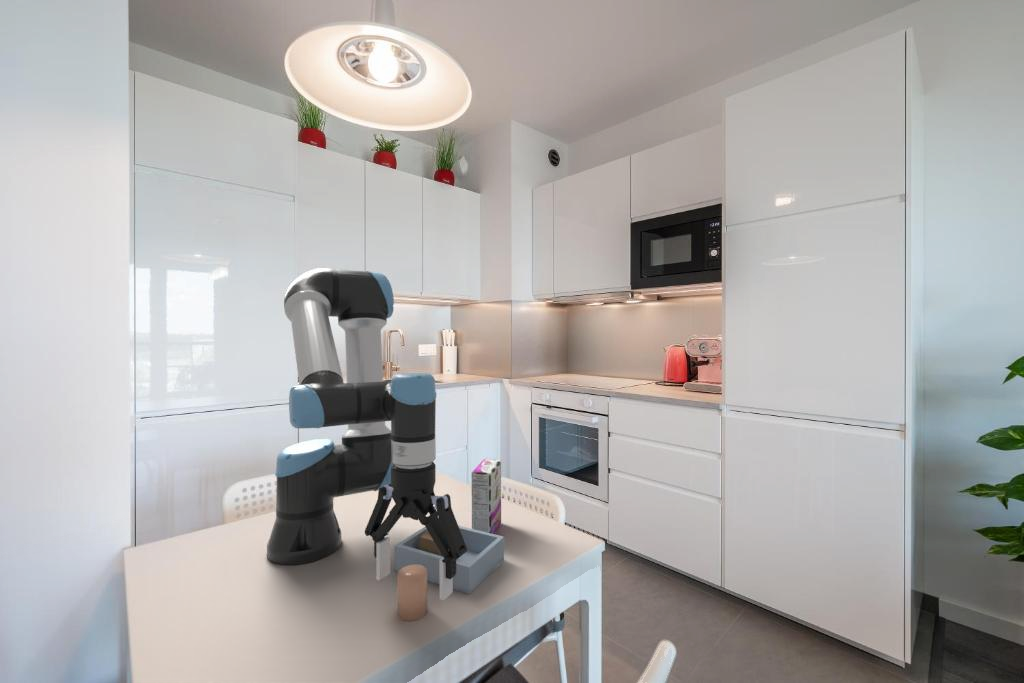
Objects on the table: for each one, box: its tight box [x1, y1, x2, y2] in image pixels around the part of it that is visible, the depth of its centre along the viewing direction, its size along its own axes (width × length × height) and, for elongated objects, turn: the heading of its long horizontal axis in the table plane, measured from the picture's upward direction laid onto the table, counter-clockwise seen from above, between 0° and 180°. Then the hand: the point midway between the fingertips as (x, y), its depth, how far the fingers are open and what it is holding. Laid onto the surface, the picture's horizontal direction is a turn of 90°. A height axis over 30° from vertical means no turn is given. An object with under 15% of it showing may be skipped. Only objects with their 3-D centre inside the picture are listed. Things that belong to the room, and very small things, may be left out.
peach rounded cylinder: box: [397, 565, 428, 622], centre depth 76 cm, size 5×5×7 cm
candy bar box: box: [471, 458, 502, 535], centre depth 108 cm, size 11×5×16 cm, turn 168°
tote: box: [393, 525, 505, 595], centre depth 92 cm, size 18×14×5 cm
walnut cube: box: [420, 532, 449, 556], centre depth 94 cm, size 5×5×5 cm
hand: (413, 586), depth 76 cm, fingers open, 13 cm apart
